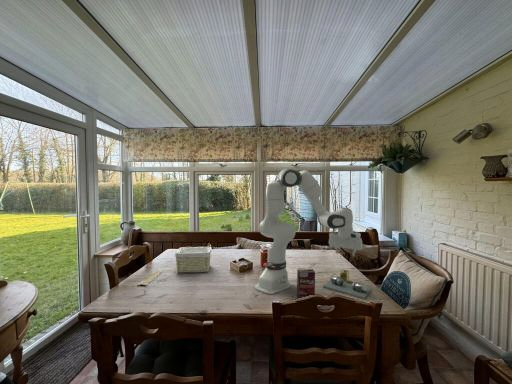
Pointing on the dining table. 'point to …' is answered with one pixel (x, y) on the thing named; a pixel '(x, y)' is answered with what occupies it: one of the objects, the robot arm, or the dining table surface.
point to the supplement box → (305, 282)
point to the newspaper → (151, 277)
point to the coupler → (344, 275)
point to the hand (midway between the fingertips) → (345, 254)
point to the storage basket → (193, 259)
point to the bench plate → (346, 289)
